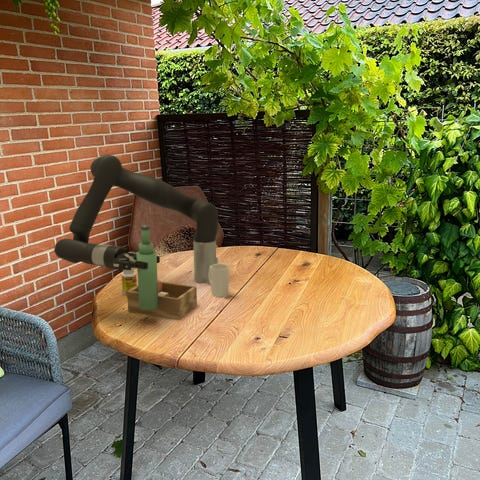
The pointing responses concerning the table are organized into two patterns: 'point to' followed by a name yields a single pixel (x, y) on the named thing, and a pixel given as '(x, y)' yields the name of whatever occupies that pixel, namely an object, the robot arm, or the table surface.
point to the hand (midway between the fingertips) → (153, 262)
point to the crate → (167, 300)
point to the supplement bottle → (128, 280)
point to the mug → (219, 279)
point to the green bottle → (147, 272)
